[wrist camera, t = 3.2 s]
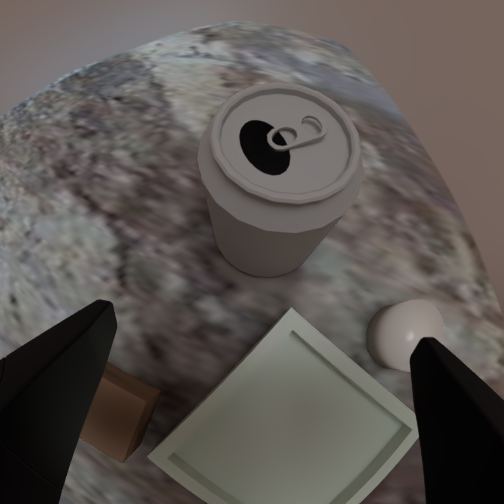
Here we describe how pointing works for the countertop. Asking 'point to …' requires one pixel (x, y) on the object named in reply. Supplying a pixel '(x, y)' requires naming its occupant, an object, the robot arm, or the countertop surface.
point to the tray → (289, 427)
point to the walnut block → (119, 413)
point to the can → (278, 175)
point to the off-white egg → (402, 332)
